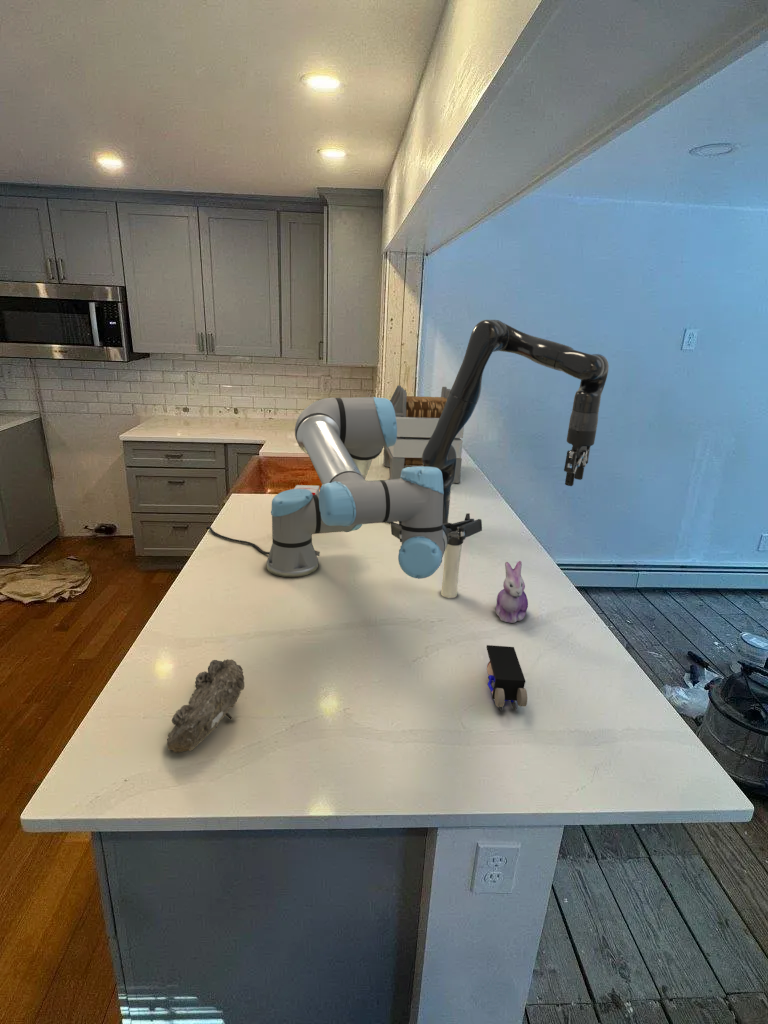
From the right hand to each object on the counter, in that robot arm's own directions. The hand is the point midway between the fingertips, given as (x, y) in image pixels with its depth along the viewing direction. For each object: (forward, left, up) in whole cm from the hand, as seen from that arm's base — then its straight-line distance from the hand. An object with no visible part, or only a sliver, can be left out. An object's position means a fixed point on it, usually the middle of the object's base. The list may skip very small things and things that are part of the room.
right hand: (573, 482), depth 165 cm
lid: (-19, -35, -11) cm, 41 cm away
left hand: (-15, -52, -1) cm, 54 cm away
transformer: (-92, +65, -29) cm, 116 cm away
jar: (-19, -35, -29) cm, 49 cm away
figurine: (-1, -34, -29) cm, 45 cm away
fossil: (-30, -108, -29) cm, 115 cm away
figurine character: (+11, -66, -29) cm, 73 cm away
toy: (-91, -16, -29) cm, 97 cm away
